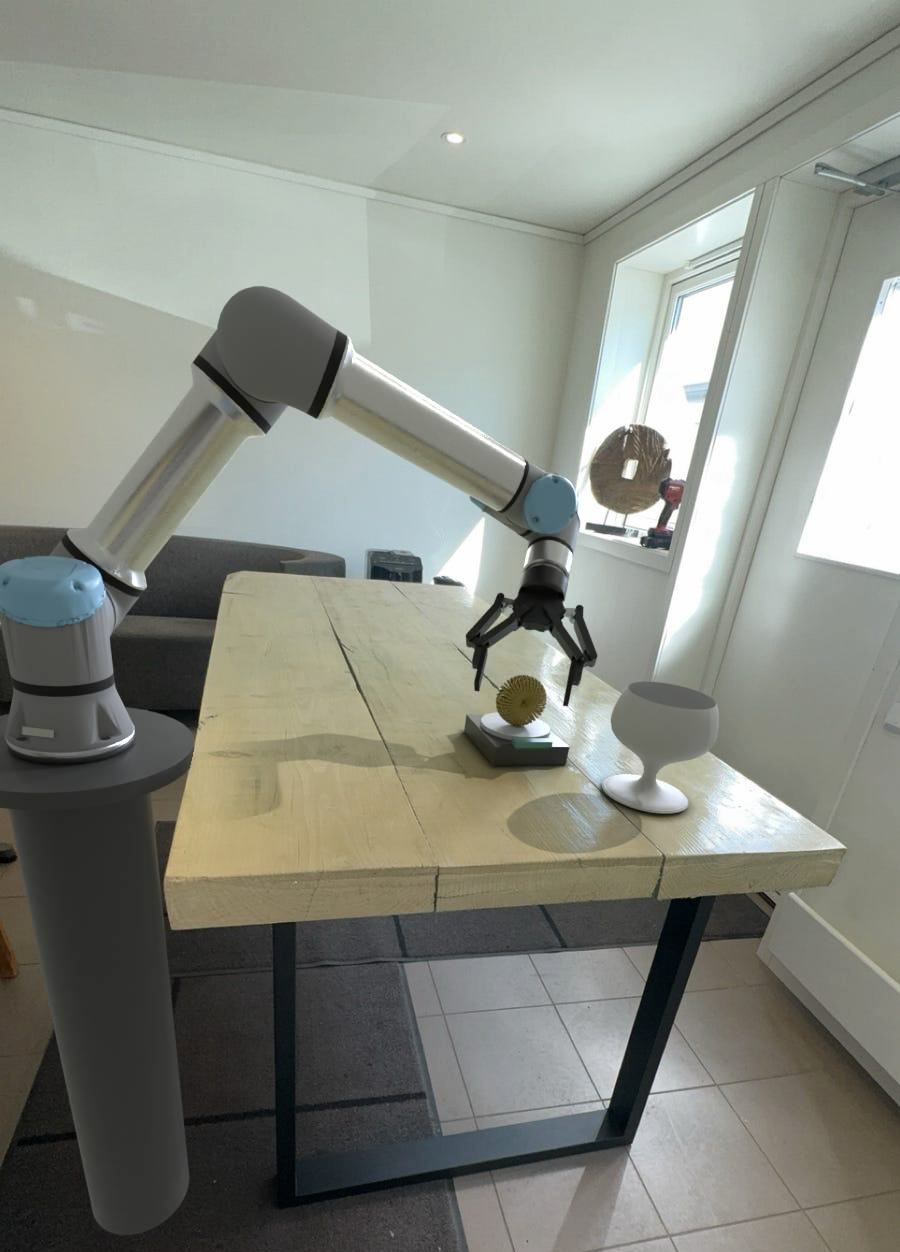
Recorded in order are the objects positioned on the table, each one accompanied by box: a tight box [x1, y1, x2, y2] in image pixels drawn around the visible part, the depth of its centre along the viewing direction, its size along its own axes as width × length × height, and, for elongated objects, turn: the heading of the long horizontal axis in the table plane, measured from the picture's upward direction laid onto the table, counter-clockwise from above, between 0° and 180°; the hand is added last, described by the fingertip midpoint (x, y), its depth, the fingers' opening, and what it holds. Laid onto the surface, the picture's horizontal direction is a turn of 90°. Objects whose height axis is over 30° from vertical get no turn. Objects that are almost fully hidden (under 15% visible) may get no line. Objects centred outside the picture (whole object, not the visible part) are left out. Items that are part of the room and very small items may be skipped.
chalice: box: [601, 681, 720, 814], centre depth 90 cm, size 14×14×15 cm
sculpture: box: [495, 674, 548, 726], centre depth 101 cm, size 8×4×8 cm, turn 102°
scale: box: [463, 711, 570, 767], centre depth 104 cm, size 14×12×4 cm
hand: (521, 694), depth 99 cm, fingers open, 13 cm apart
